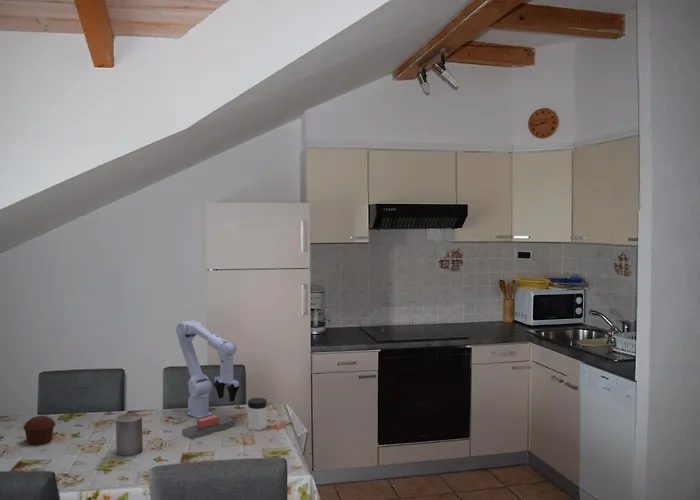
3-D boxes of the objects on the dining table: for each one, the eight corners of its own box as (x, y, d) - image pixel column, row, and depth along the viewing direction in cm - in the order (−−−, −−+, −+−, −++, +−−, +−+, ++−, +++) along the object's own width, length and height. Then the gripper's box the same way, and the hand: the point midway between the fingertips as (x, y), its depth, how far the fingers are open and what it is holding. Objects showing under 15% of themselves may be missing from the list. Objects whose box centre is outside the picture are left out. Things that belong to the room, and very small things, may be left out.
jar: (246, 424, 287) (246, 398, 287) (264, 423, 290) (265, 396, 289) (249, 431, 279) (249, 403, 278) (268, 429, 281) (268, 402, 280)
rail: (182, 435, 273) (182, 429, 272) (223, 422, 289) (223, 417, 289) (192, 439, 268) (192, 433, 268) (233, 426, 285) (233, 420, 285)
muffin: (20, 447, 255) (20, 422, 255) (26, 438, 266) (26, 414, 265) (53, 445, 258) (53, 420, 258) (58, 435, 269) (57, 412, 268)
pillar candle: (133, 445, 260) (133, 408, 259) (147, 451, 254) (147, 413, 253) (111, 452, 252) (110, 414, 251) (125, 458, 246) (124, 419, 245)
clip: (196, 431, 276) (196, 419, 276) (213, 426, 283) (213, 414, 283) (202, 433, 274) (202, 421, 274) (218, 427, 281) (219, 416, 281)
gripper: (209, 368, 292) (209, 398, 292) (230, 374, 282) (230, 404, 283) (221, 365, 297) (221, 395, 298) (242, 371, 288) (242, 401, 288)
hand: (226, 399), depth 291 cm, fingers open, 7 cm apart
